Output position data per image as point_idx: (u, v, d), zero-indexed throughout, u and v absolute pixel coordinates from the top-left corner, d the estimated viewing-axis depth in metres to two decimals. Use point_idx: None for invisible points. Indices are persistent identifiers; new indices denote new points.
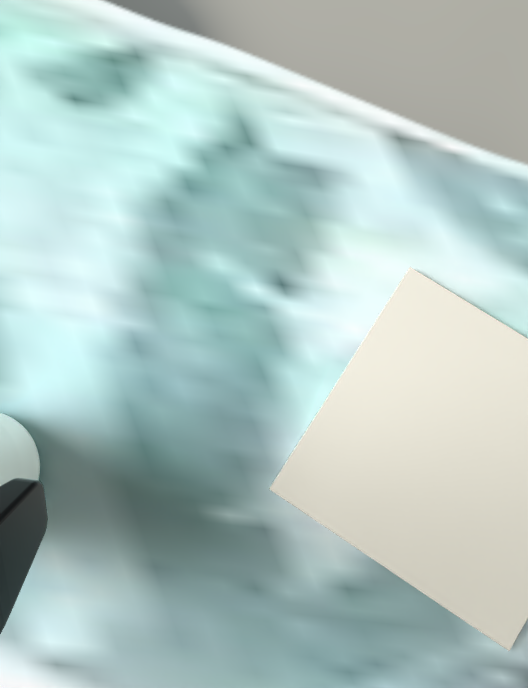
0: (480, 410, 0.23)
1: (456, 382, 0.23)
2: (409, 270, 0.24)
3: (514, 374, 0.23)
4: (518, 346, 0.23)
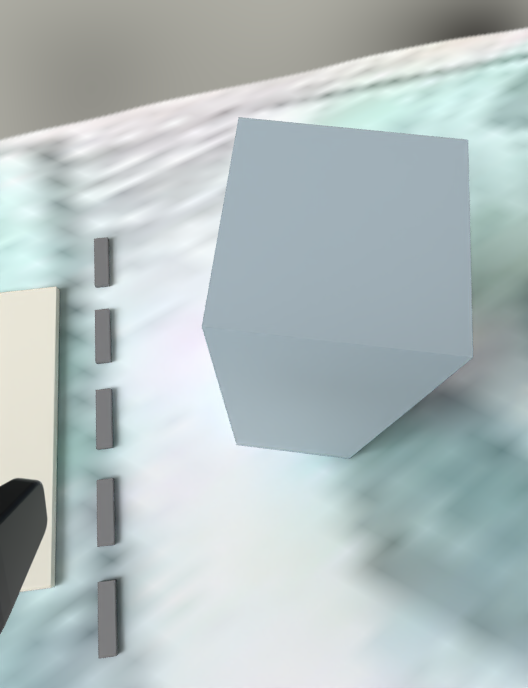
0: None
1: None
2: None
3: None
4: None
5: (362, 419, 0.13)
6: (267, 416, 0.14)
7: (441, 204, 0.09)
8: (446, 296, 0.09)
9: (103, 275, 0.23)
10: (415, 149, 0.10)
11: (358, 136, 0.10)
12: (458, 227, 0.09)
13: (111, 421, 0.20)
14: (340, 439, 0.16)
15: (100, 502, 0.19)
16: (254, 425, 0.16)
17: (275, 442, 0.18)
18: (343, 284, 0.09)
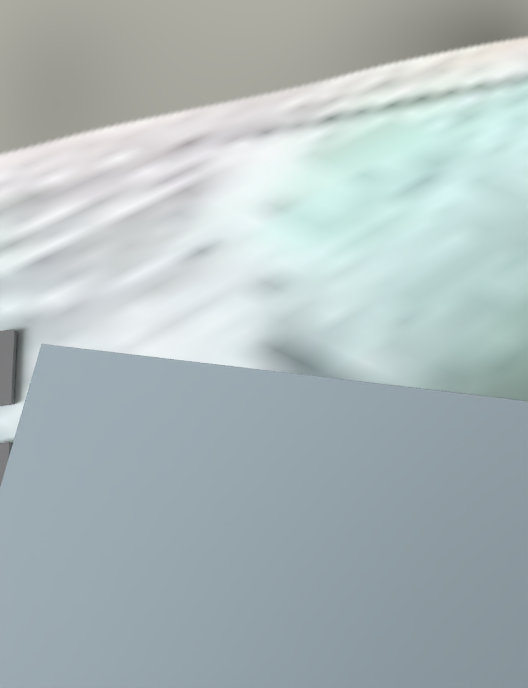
0: None
1: None
2: None
3: None
4: None
5: None
6: None
7: None
8: None
9: (4, 389, 0.15)
10: None
11: (453, 423, 0.03)
12: None
13: None
14: None
15: None
16: None
17: None
18: None
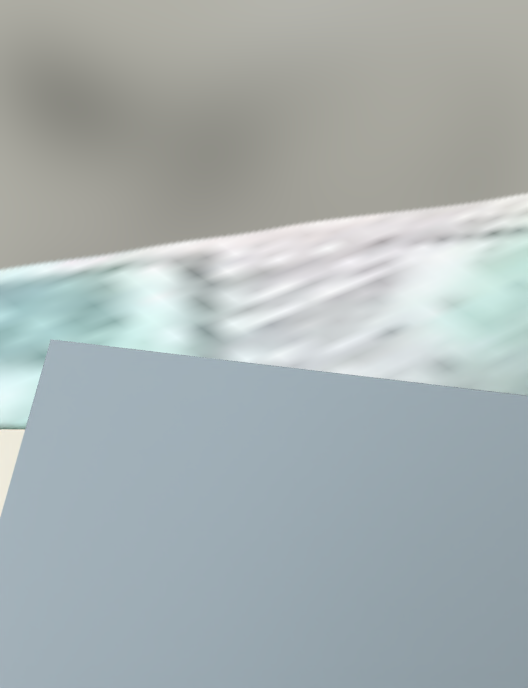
0: None
1: None
2: None
3: None
4: None
5: None
6: None
7: None
8: None
9: None
10: None
11: (460, 418, 0.03)
12: None
13: None
14: None
15: None
16: None
17: None
18: None
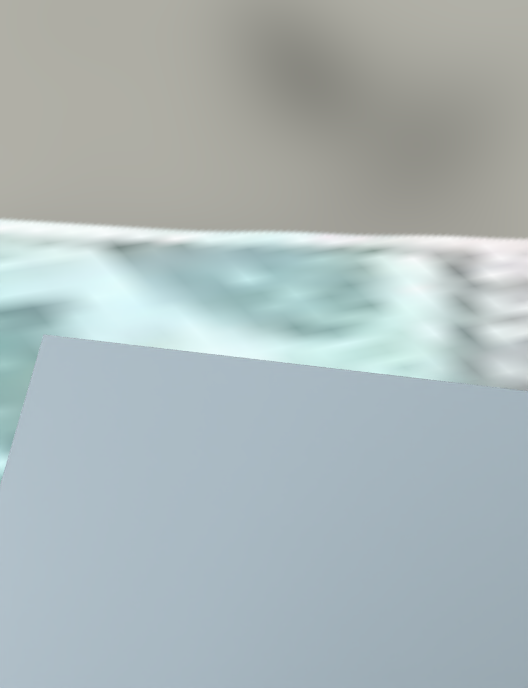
0: None
1: None
2: None
3: None
4: None
5: None
6: None
7: None
8: None
9: None
10: None
11: (453, 413, 0.03)
12: None
13: None
14: None
15: None
16: None
17: None
18: None
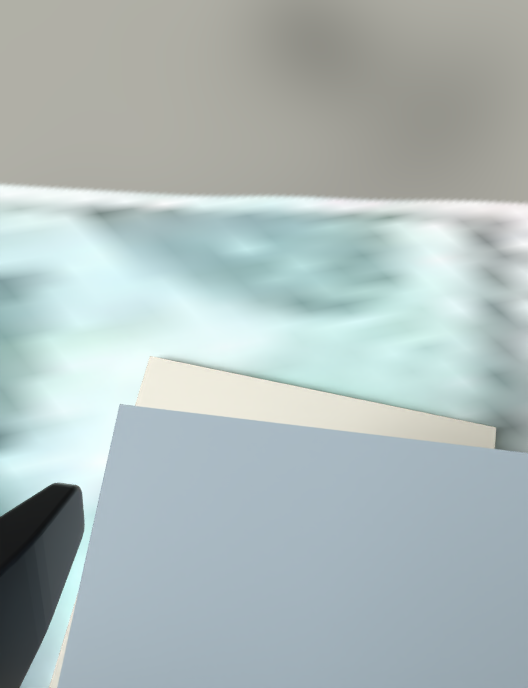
0: None
1: None
2: (150, 360, 0.18)
3: None
4: (316, 406, 0.17)
5: None
6: None
7: None
8: None
9: None
10: (526, 496, 0.04)
11: (392, 458, 0.04)
12: None
13: None
14: None
15: None
16: None
17: None
18: None
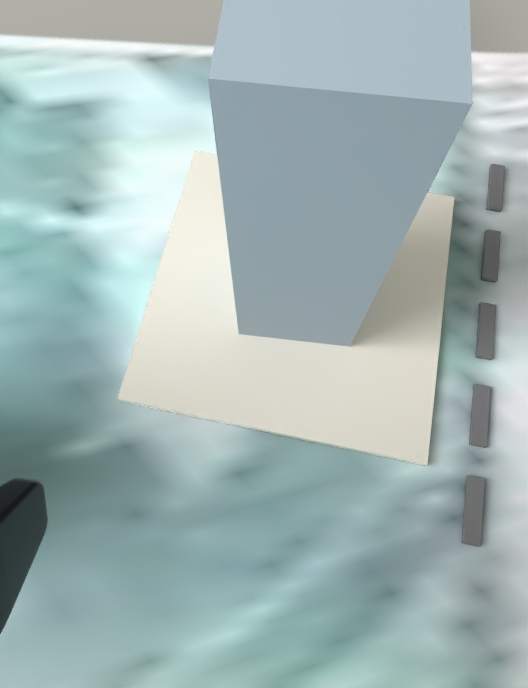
0: None
1: None
2: (195, 154, 0.23)
3: None
4: None
5: (363, 257, 0.14)
6: (269, 266, 0.15)
7: None
8: (446, 54, 0.09)
9: (497, 200, 0.23)
10: None
11: None
12: None
13: (493, 335, 0.21)
14: (341, 304, 0.17)
15: (477, 404, 0.20)
16: (256, 288, 0.16)
17: (277, 322, 0.19)
18: (346, 45, 0.09)
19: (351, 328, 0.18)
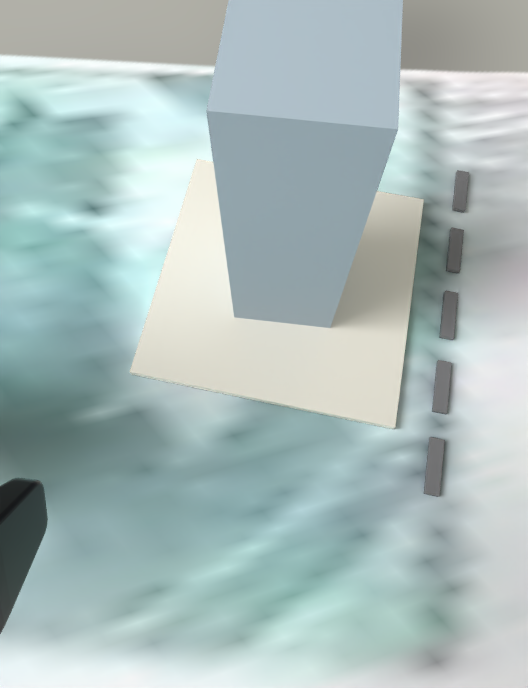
0: None
1: None
2: (197, 161, 0.27)
3: None
4: None
5: (332, 246, 0.17)
6: (258, 254, 0.18)
7: (380, 35, 0.13)
8: (381, 92, 0.12)
9: (462, 202, 0.26)
10: (363, 0, 0.13)
11: None
12: (392, 50, 0.13)
13: (455, 319, 0.24)
14: (319, 289, 0.20)
15: (439, 377, 0.23)
16: (248, 274, 0.19)
17: (266, 305, 0.22)
18: (307, 85, 0.12)
19: (329, 310, 0.22)
